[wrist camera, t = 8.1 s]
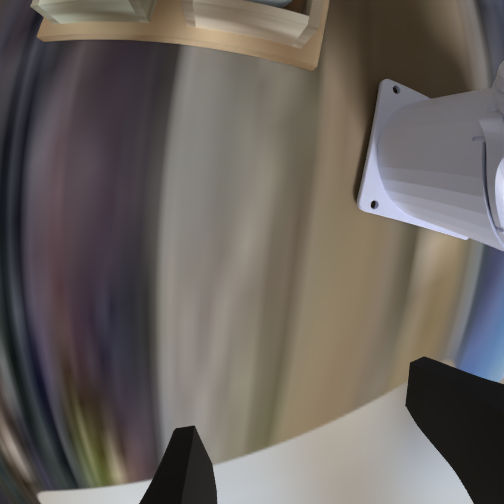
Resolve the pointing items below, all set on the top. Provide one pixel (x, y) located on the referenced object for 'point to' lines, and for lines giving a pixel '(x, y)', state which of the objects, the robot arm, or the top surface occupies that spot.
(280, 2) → the slate ball
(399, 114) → the robot arm
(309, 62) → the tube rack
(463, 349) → the top surface
